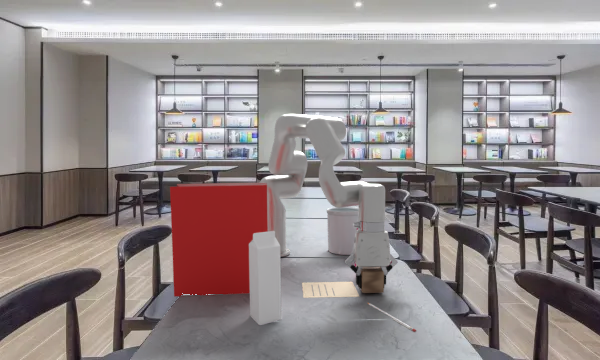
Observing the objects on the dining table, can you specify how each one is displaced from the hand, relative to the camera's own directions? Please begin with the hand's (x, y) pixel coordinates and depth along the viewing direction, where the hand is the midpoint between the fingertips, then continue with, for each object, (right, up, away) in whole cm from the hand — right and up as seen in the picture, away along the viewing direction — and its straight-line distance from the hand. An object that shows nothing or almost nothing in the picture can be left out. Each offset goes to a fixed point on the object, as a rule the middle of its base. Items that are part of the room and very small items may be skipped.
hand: (370, 286), depth 110 cm
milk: (-30, -4, -16) cm, 34 cm away
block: (0, -1, 0) cm, 1 cm away
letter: (-12, -2, +3) cm, 12 cm away
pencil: (+2, -4, -15) cm, 15 cm away
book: (-44, -2, +4) cm, 44 cm away
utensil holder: (-2, +2, +46) cm, 46 cm away
